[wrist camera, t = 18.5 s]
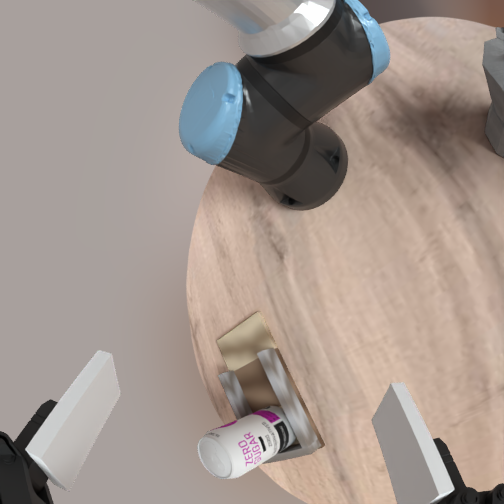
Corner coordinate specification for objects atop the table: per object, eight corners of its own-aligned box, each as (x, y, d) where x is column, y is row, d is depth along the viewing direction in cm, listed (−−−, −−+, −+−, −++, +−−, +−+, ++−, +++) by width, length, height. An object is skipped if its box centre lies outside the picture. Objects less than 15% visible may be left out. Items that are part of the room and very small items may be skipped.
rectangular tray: (220, 340, 55) (204, 342, 52) (260, 311, 49) (244, 313, 46) (273, 457, 43) (260, 466, 40) (325, 445, 37) (312, 455, 34)
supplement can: (253, 420, 46) (188, 447, 35) (277, 395, 44) (208, 423, 32) (281, 452, 41) (218, 488, 30) (308, 430, 39) (245, 470, 27)
